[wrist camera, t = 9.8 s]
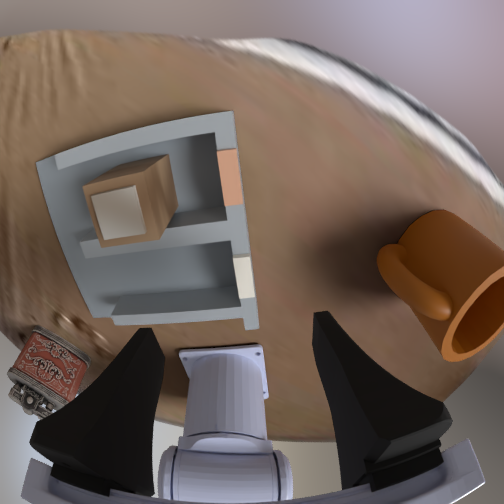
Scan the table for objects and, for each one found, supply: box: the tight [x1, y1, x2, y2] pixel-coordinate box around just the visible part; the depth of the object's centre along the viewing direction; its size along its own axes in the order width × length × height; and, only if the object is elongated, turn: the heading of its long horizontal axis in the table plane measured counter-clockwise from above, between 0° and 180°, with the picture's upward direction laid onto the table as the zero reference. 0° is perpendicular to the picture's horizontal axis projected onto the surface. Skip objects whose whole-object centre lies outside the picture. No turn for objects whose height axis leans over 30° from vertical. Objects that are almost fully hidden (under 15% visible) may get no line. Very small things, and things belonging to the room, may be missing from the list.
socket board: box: [36, 111, 259, 330], centre depth 18 cm, size 14×15×4 cm
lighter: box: [7, 325, 91, 420], centre depth 21 cm, size 8×3×10 cm, turn 55°
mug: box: [377, 210, 504, 362], centre depth 17 cm, size 9×12×9 cm
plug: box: [82, 154, 179, 248], centre depth 15 cm, size 4×4×5 cm
